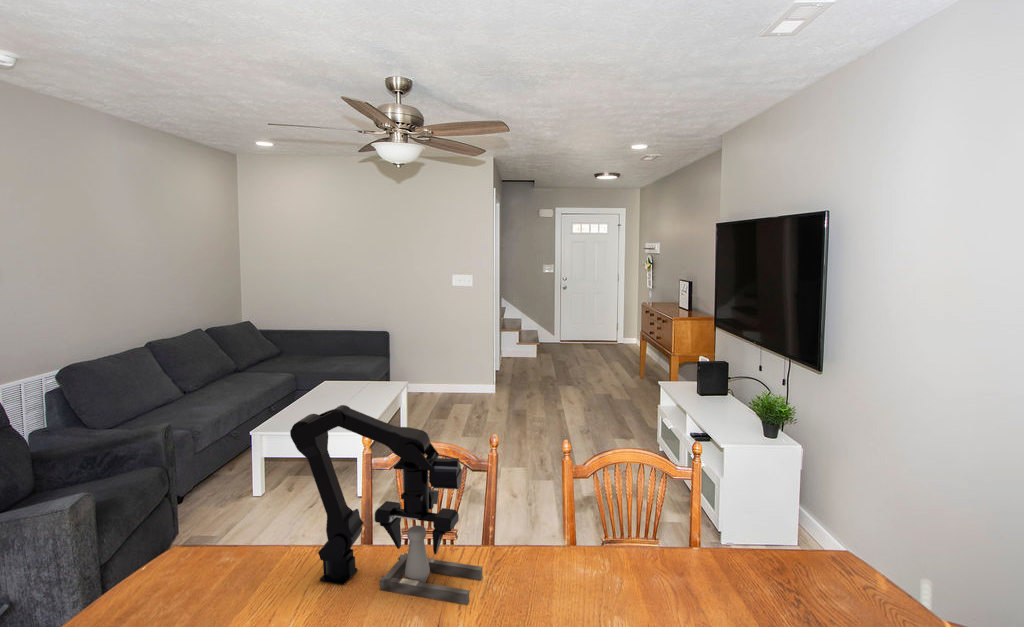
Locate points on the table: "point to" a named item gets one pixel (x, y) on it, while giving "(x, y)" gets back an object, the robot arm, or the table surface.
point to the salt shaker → (417, 555)
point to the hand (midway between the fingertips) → (417, 550)
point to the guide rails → (431, 590)
